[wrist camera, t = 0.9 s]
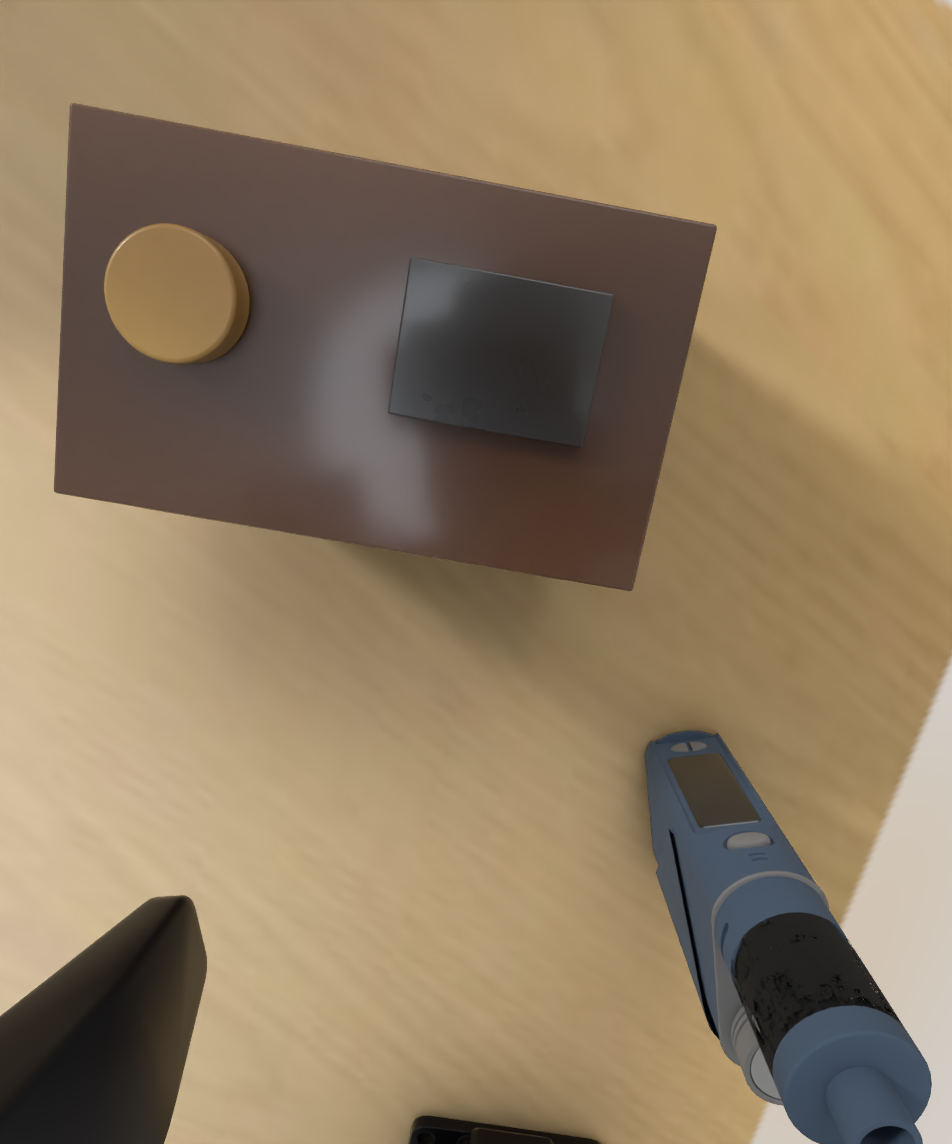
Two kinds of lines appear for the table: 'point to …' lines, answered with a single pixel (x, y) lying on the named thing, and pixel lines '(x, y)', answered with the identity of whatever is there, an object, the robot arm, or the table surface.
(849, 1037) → the vaping device
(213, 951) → the table surface
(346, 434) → the radio
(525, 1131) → the robot arm
